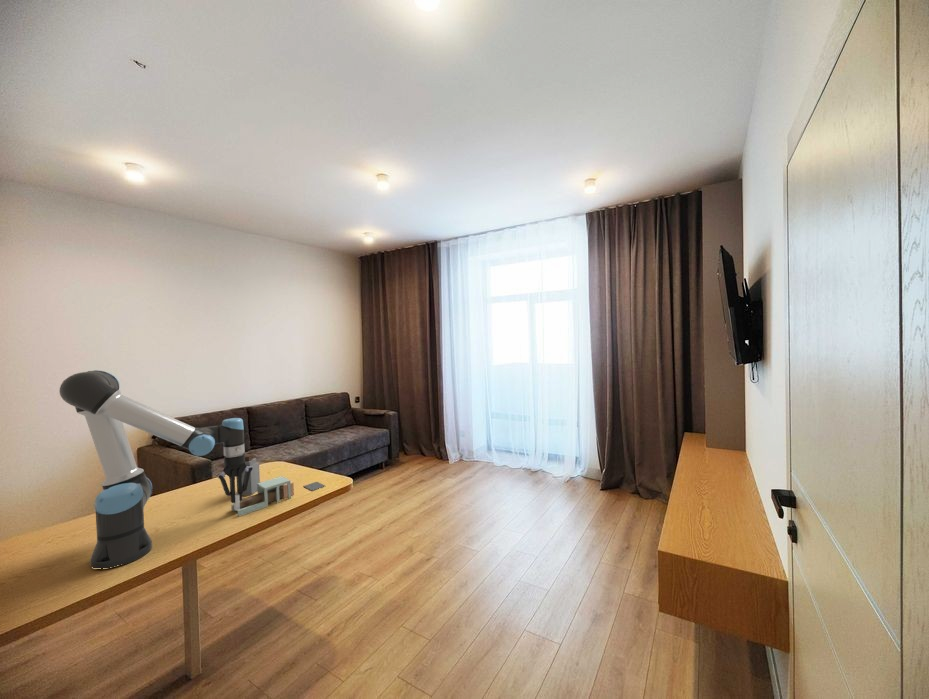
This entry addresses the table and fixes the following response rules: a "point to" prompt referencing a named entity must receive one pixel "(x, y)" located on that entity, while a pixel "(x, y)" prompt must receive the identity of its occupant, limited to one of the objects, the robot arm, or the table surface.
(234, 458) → the robot arm
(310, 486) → the trap mat
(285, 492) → the block
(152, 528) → the table surface
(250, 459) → the perfume bottle
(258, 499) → the rod
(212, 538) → the table surface
